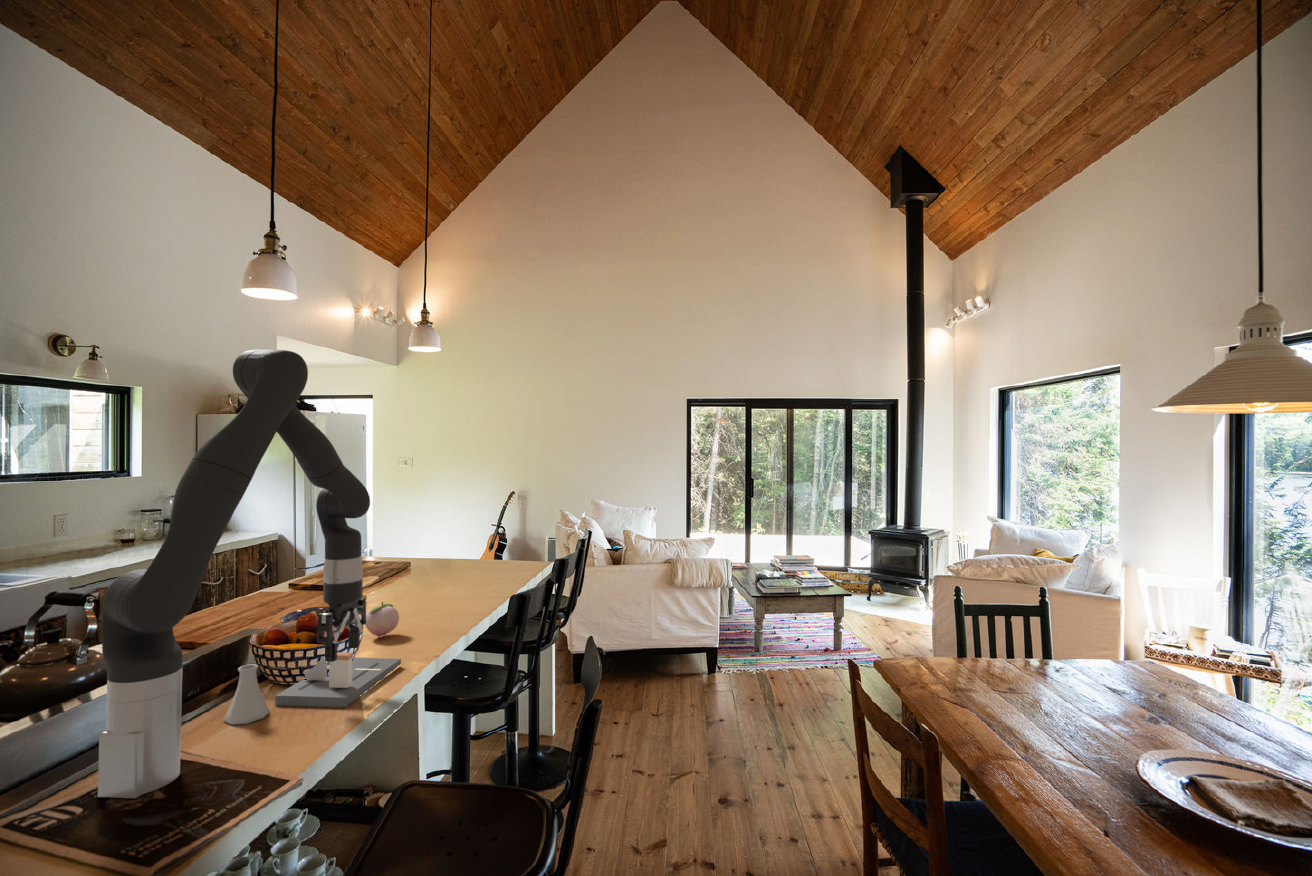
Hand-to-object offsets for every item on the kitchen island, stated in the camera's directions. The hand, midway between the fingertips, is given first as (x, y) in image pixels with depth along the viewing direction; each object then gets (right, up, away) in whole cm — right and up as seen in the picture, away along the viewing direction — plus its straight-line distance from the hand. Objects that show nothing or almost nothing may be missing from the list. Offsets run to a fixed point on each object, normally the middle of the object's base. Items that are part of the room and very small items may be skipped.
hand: (342, 654), depth 132 cm
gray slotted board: (-3, -9, +7) cm, 12 cm away
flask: (-14, -9, -11) cm, 19 cm away
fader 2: (0, -7, 0) cm, 7 cm away
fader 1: (-8, -7, +4) cm, 11 cm away
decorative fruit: (-10, -10, +42) cm, 45 cm away
